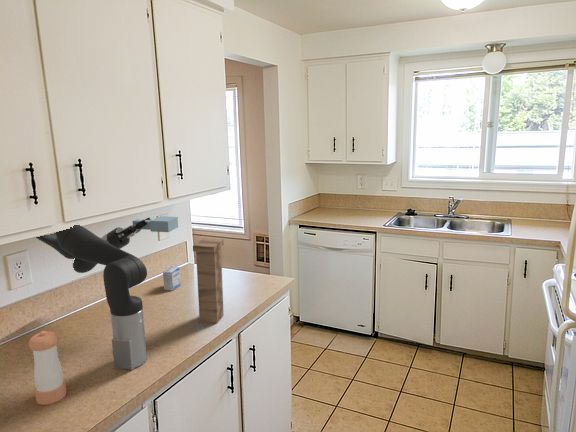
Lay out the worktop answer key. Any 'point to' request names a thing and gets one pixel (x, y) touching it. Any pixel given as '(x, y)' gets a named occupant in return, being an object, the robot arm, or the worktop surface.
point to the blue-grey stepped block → (160, 224)
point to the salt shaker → (47, 368)
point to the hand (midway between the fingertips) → (148, 220)
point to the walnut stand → (209, 279)
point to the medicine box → (171, 278)
